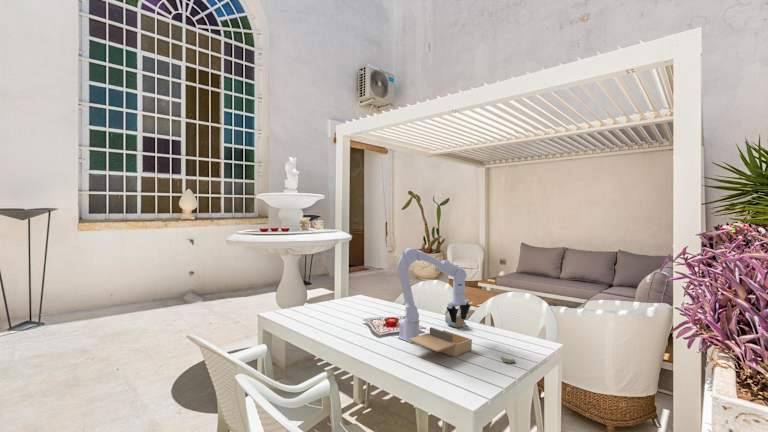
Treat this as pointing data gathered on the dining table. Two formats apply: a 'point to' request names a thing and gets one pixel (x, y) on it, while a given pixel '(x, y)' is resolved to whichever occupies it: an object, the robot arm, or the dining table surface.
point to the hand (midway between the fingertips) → (458, 320)
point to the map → (507, 360)
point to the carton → (458, 345)
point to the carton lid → (434, 340)
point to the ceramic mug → (458, 323)
